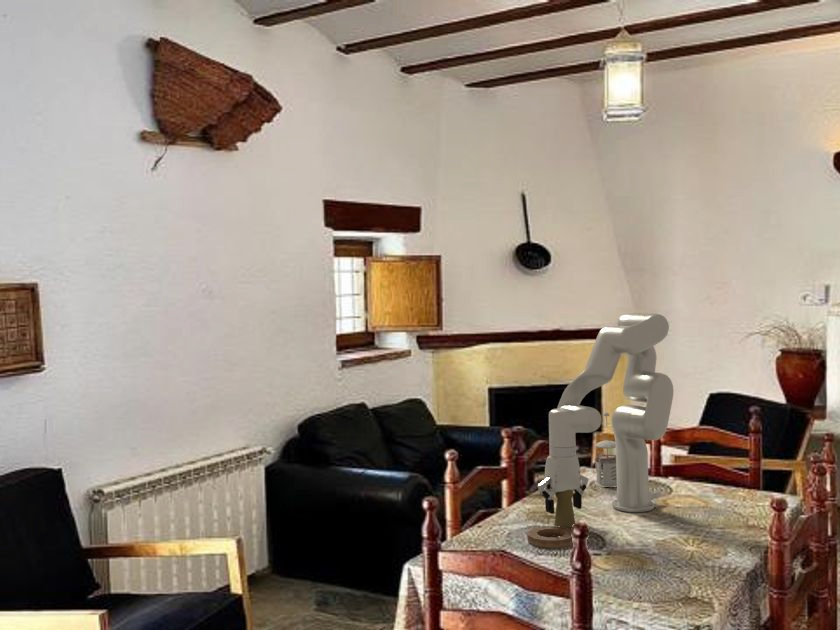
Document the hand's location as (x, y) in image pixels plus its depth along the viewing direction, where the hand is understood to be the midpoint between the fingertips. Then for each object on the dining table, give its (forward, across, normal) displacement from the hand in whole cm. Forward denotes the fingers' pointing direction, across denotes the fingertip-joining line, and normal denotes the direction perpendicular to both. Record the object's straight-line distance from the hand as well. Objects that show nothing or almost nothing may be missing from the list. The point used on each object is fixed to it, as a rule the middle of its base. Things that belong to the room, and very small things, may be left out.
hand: (563, 510), depth 239 cm
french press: (+4, -39, -29) cm, 49 cm away
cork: (+4, 0, 0) cm, 4 cm away
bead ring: (+4, +12, +10) cm, 16 cm away
